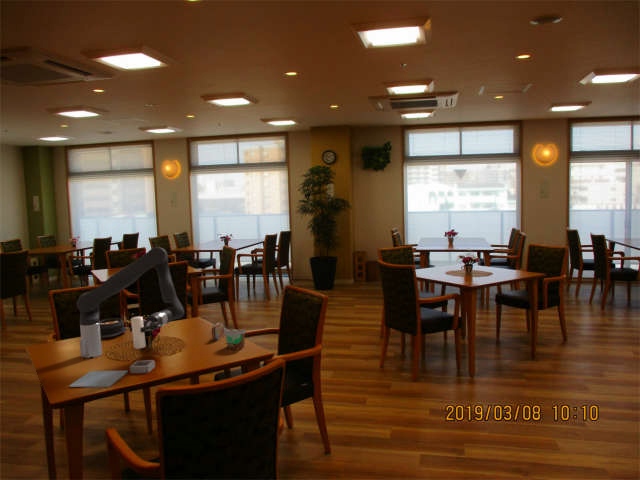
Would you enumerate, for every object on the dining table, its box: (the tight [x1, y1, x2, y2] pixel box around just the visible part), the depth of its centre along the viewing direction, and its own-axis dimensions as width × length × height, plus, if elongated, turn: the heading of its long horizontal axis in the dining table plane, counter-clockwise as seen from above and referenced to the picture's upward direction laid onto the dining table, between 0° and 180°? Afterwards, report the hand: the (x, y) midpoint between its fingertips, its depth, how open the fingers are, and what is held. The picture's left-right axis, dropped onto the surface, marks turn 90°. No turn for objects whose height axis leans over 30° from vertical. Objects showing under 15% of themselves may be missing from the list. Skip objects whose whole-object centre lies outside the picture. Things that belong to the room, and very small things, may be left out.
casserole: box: [99, 317, 128, 339], centre depth 300 cm, size 25×19×8 cm
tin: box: [211, 321, 227, 341], centre depth 284 cm, size 15×3×8 cm, turn 168°
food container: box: [224, 327, 246, 350], centre depth 262 cm, size 12×6×10 cm, turn 68°
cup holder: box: [129, 359, 156, 374], centre depth 235 cm, size 9×9×3 cm
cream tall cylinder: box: [130, 315, 147, 350], centre depth 233 cm, size 5×5×14 cm
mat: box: [68, 370, 129, 388], centre depth 224 cm, size 18×18×1 cm
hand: (136, 330), depth 231 cm, fingers closed on cream tall cylinder, 5 cm apart
